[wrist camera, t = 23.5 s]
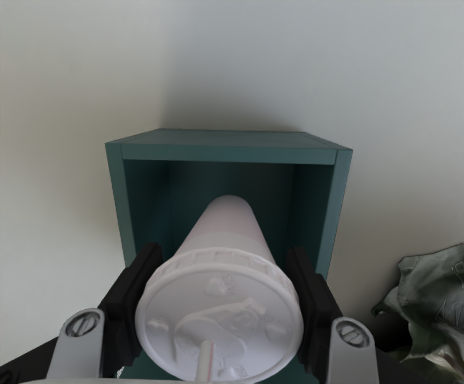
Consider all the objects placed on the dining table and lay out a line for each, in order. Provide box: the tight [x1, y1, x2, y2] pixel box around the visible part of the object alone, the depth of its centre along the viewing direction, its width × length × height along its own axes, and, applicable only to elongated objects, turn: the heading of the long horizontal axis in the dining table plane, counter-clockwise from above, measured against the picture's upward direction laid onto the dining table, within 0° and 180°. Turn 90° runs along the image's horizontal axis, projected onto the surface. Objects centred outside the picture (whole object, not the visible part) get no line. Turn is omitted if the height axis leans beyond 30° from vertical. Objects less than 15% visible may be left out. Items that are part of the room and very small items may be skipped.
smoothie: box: [135, 195, 304, 384], centre depth 11 cm, size 6×6×14 cm
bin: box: [105, 129, 353, 281], centre depth 20 cm, size 16×14×9 cm
